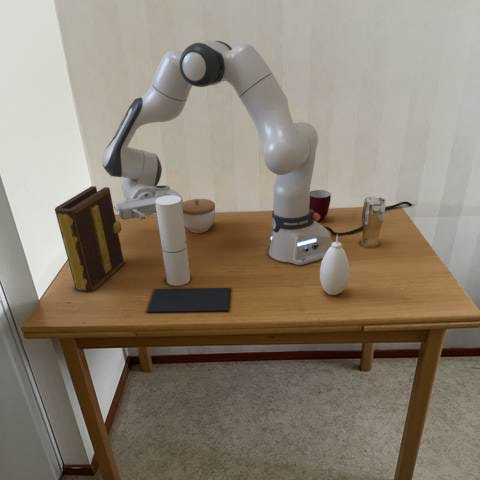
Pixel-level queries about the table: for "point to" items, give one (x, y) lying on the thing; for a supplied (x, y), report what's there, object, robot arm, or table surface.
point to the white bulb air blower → (334, 269)
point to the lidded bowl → (198, 214)
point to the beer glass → (372, 220)
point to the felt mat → (189, 300)
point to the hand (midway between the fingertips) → (157, 213)
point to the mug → (320, 203)
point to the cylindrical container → (173, 239)
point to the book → (90, 237)
